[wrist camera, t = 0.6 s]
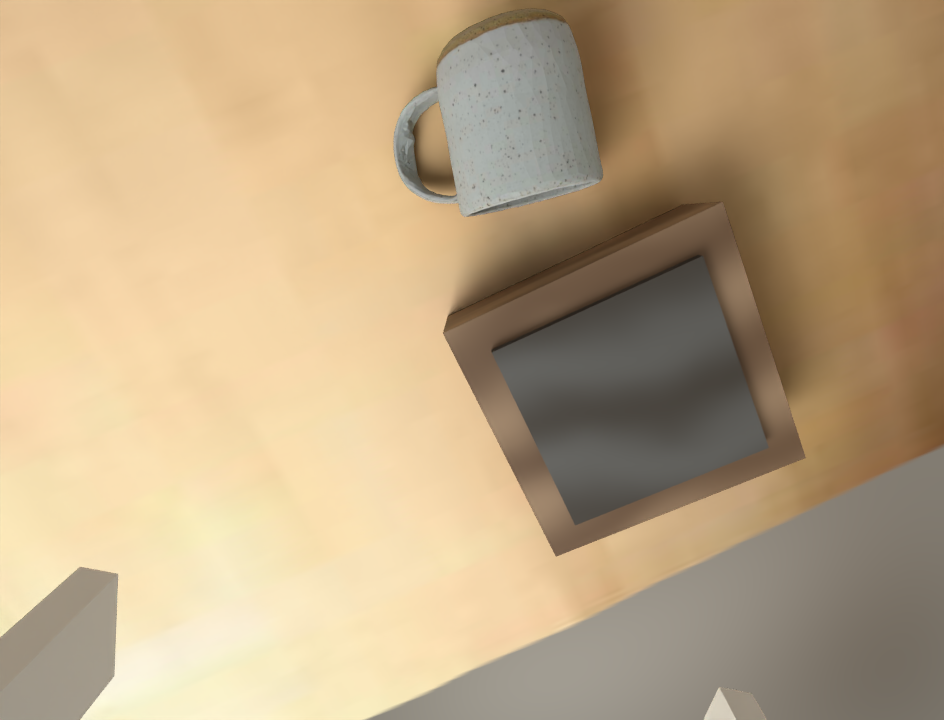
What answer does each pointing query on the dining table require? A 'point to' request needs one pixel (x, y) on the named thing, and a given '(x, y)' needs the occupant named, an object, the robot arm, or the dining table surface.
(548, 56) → the ceramic mug
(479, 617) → the dining table surface
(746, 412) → the walnut base
